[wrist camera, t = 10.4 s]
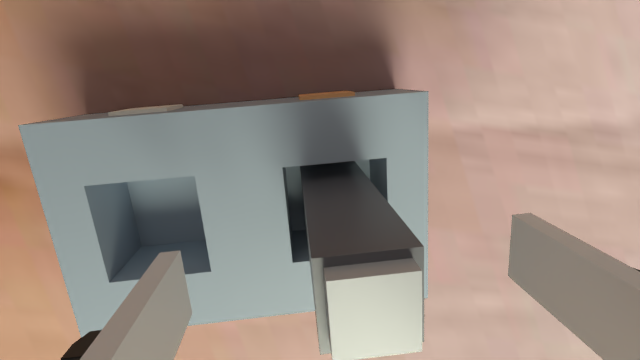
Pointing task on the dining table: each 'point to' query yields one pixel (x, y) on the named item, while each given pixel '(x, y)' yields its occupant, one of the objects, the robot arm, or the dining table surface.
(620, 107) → the dining table surface
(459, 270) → the dining table surface
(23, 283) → the dining table surface
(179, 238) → the socket block
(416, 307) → the plug
